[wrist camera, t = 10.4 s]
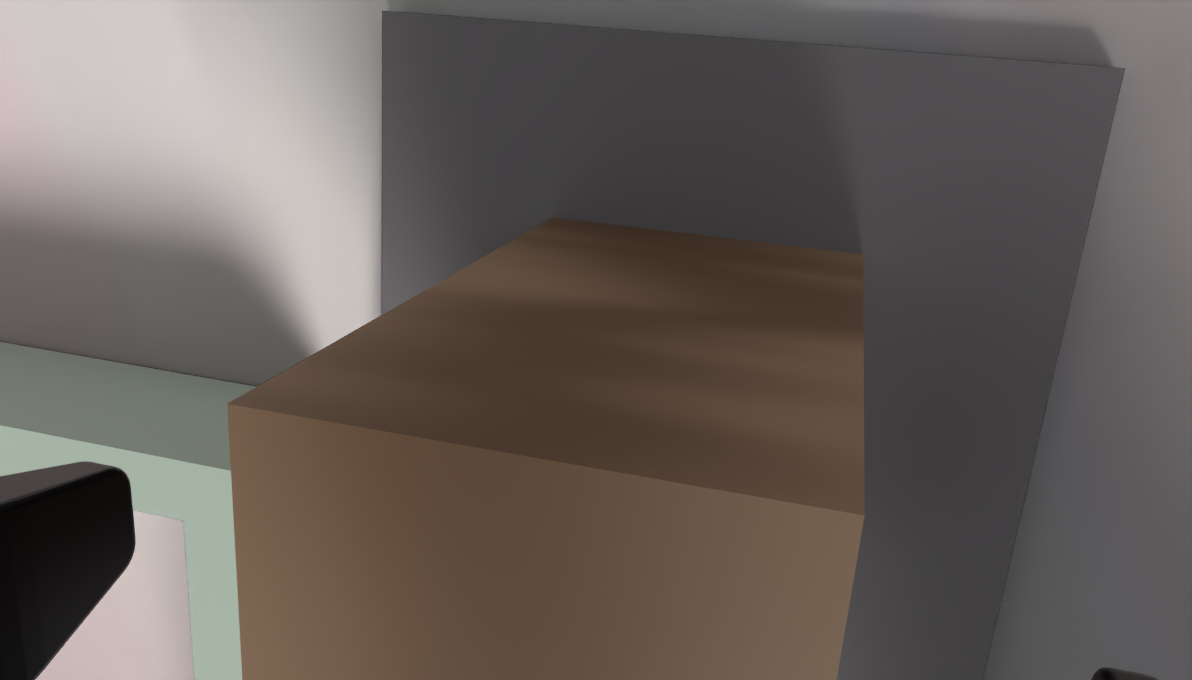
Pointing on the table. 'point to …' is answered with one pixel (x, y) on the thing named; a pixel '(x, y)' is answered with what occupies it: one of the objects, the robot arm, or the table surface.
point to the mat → (797, 244)
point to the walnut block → (565, 471)
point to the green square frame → (140, 463)
